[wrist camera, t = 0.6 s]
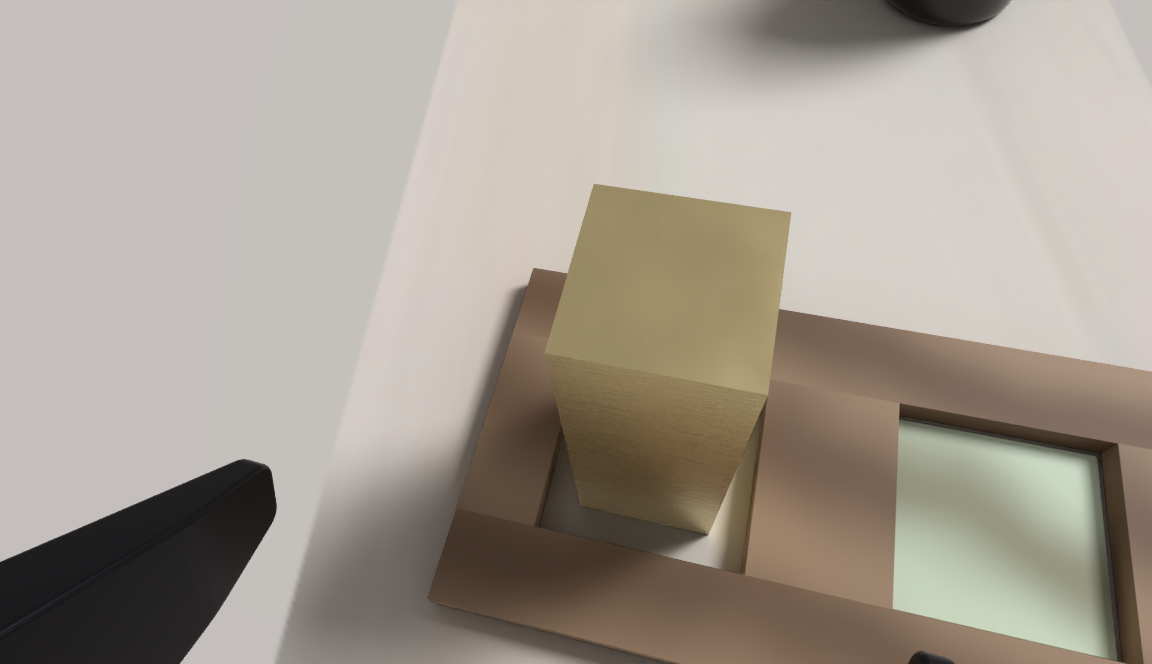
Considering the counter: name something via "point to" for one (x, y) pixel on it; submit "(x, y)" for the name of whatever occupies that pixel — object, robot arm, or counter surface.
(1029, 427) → the brown double frame
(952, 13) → the supplement bottle
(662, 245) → the tall khaki block
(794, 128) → the counter surface
